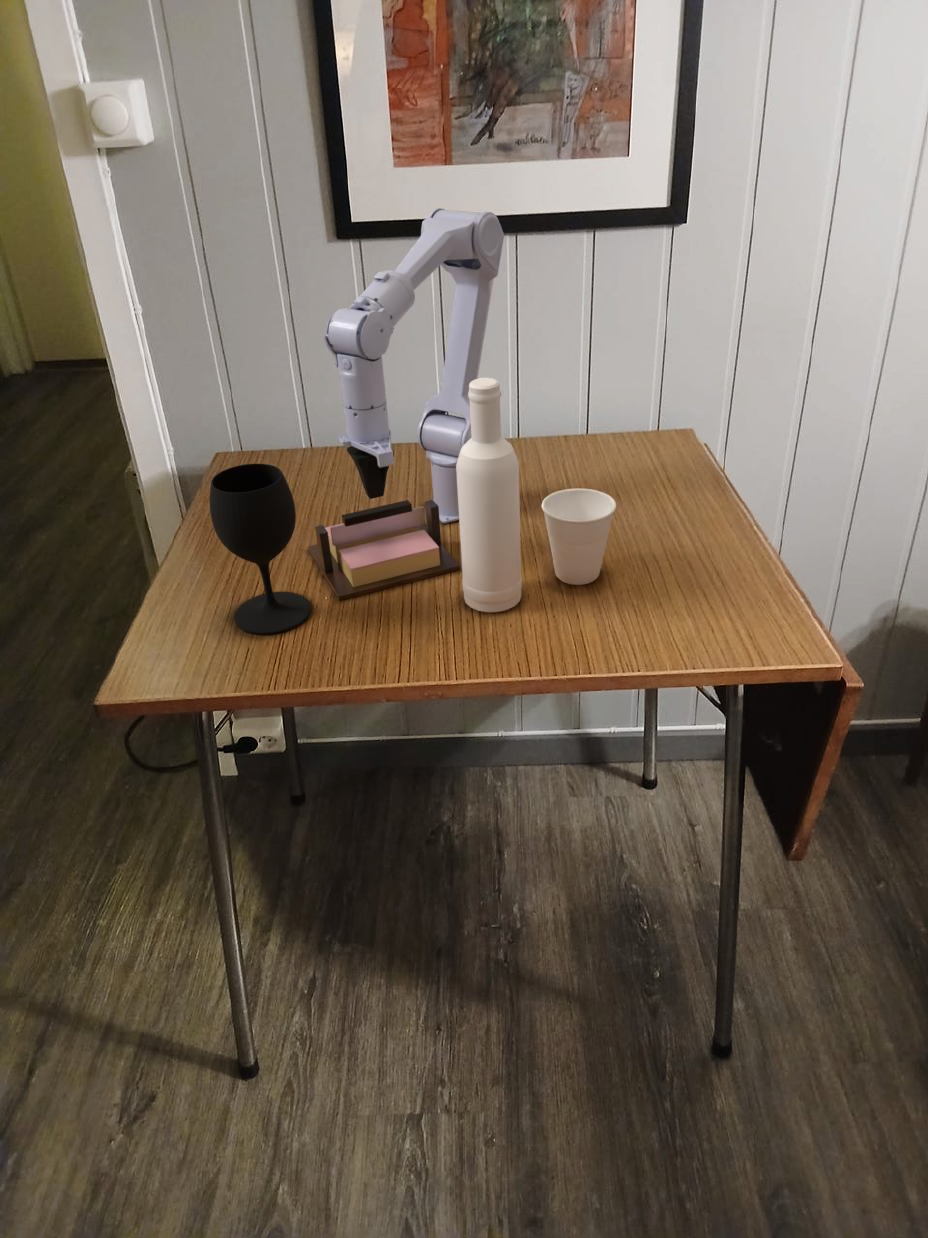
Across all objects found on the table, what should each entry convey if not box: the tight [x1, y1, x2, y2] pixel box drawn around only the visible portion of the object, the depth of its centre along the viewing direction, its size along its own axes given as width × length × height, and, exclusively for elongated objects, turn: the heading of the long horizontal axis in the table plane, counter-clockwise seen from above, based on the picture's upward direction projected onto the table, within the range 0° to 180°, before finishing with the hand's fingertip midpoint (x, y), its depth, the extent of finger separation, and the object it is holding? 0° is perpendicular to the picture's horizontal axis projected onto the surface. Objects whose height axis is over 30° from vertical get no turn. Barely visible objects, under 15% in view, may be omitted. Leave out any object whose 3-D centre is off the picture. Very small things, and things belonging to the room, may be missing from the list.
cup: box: [540, 487, 617, 586], centre depth 127 cm, size 10×10×11 cm
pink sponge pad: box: [325, 523, 440, 587], centre depth 135 cm, size 13×14×3 cm
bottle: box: [456, 377, 523, 614], centre depth 118 cm, size 8×8×30 cm
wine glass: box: [209, 463, 312, 636], centre depth 120 cm, size 10×10×20 cm
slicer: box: [307, 499, 461, 602], centre depth 134 cm, size 18×16×7 cm
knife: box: [329, 499, 426, 546], centre depth 133 cm, size 14×2×4 cm, turn 113°
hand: (375, 495), depth 130 cm, fingers closed
